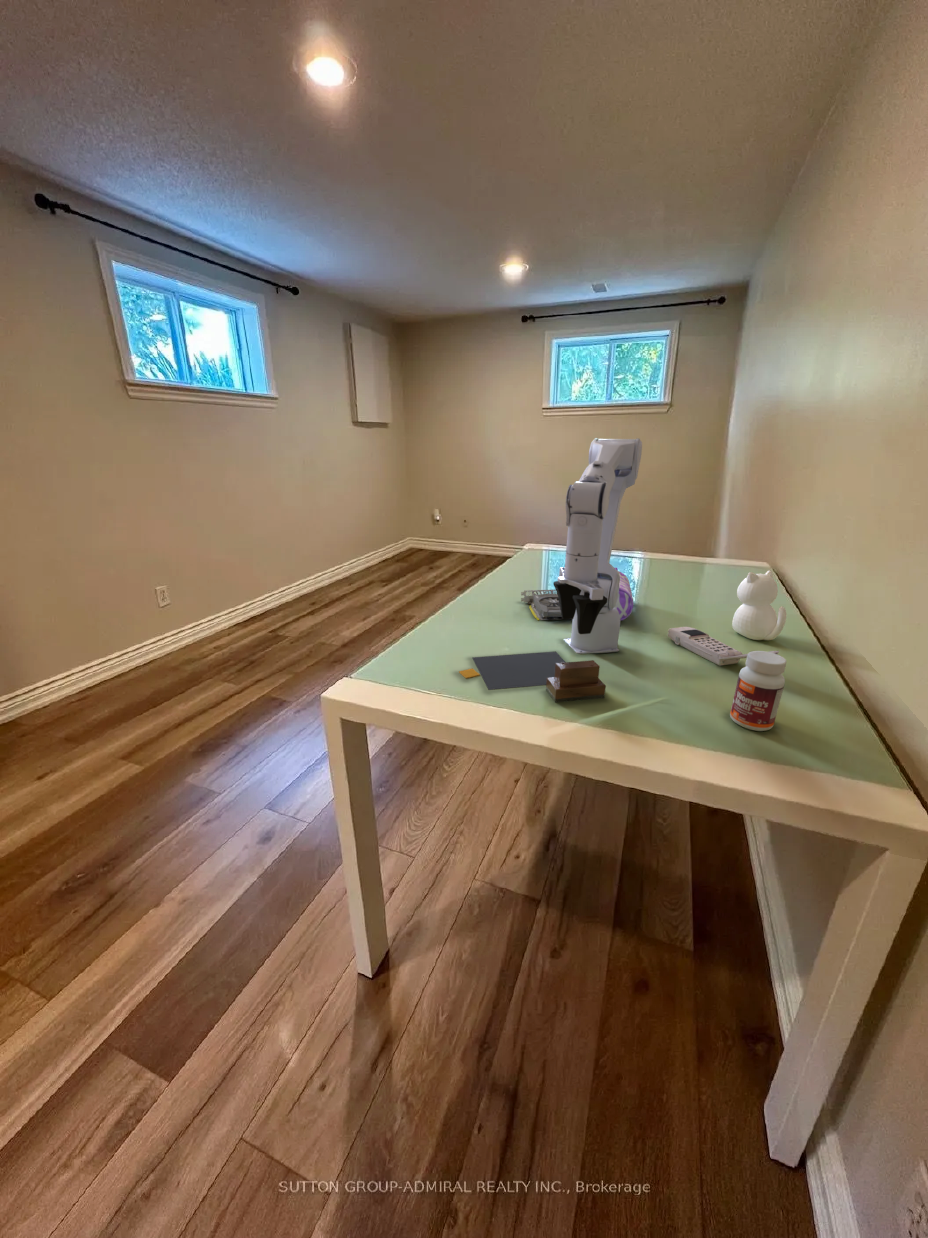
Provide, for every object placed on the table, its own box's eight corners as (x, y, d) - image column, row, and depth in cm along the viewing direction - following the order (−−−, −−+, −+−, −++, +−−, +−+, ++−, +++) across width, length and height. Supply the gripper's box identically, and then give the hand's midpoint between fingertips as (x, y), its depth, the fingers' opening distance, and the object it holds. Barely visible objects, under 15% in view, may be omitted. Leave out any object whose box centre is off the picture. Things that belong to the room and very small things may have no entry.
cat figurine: (746, 625, 120) (759, 565, 115) (794, 644, 109) (811, 578, 104) (718, 629, 117) (730, 568, 112) (764, 649, 106) (780, 582, 101)
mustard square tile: (472, 670, 94) (472, 668, 94) (480, 677, 92) (480, 674, 92) (458, 674, 93) (458, 671, 93) (465, 680, 91) (466, 677, 90)
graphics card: (520, 589, 135) (563, 588, 135) (520, 602, 136) (562, 600, 137) (532, 610, 119) (581, 608, 120) (532, 624, 120) (580, 622, 121)
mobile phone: (757, 655, 88) (662, 611, 110) (750, 684, 90) (658, 635, 112) (782, 651, 90) (683, 609, 112) (774, 680, 92) (679, 633, 114)
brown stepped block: (592, 687, 88) (596, 657, 86) (604, 699, 84) (608, 668, 82) (545, 691, 87) (547, 661, 85) (554, 704, 83) (557, 672, 81)
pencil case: (594, 596, 141) (597, 564, 137) (627, 599, 139) (632, 567, 135) (595, 622, 120) (599, 585, 117) (634, 626, 118) (640, 588, 115)
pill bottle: (725, 722, 78) (739, 657, 74) (734, 707, 82) (748, 645, 78) (769, 737, 74) (786, 669, 70) (776, 720, 79) (793, 656, 75)
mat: (555, 653, 103) (555, 651, 103) (583, 683, 90) (583, 681, 90) (472, 659, 99) (472, 657, 99) (488, 691, 87) (488, 689, 86)
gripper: (546, 545, 91) (541, 613, 96) (578, 563, 78) (571, 642, 83) (581, 544, 93) (575, 611, 97) (618, 562, 79) (609, 639, 84)
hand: (575, 625), depth 90 cm, fingers open, 7 cm apart
